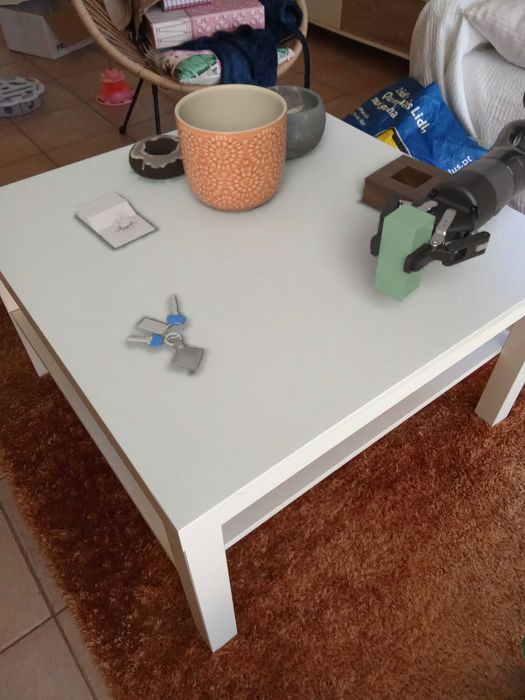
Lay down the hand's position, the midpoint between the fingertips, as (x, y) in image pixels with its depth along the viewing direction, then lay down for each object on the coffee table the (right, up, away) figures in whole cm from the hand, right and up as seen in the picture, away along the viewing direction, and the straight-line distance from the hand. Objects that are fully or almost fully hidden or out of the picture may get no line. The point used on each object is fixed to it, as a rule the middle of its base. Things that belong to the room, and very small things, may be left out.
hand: (390, 257), depth 64 cm
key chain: (-27, -9, +9) cm, 30 cm away
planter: (-19, +16, +33) cm, 41 cm away
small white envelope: (-38, +10, +28) cm, 48 cm away
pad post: (+2, -3, +6) cm, 7 cm away
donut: (-33, +23, +40) cm, 56 cm away
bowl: (-10, +27, +43) cm, 51 cm away
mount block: (+10, +14, +30) cm, 35 cm away
